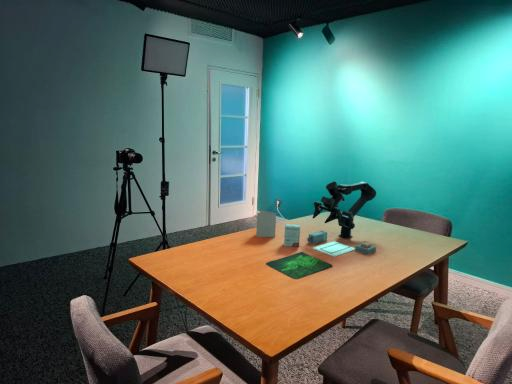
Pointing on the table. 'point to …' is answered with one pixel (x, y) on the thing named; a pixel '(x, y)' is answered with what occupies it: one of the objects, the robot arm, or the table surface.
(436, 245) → the table surface
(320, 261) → the mouse mat
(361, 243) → the button
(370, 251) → the button frame
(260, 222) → the greeting card
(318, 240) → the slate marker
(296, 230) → the ink box
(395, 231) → the table surface
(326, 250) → the paper sheet
